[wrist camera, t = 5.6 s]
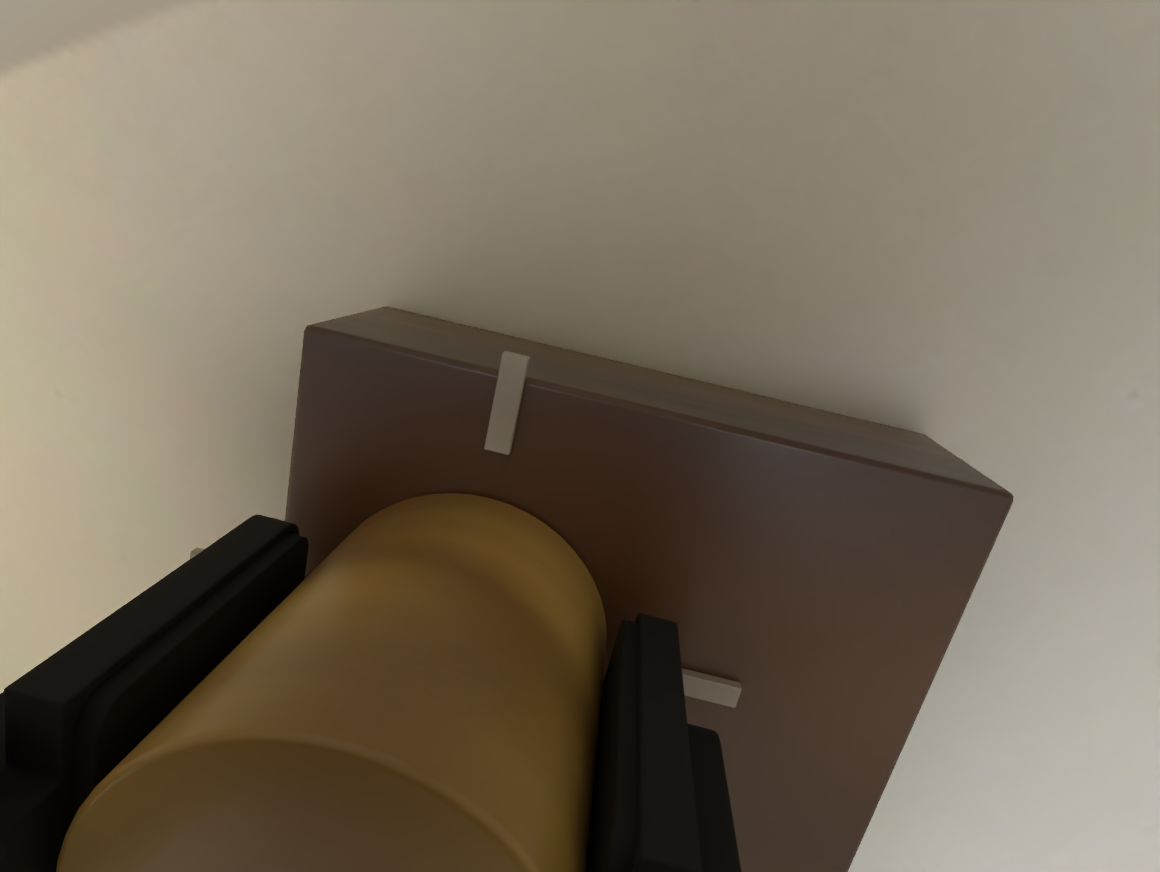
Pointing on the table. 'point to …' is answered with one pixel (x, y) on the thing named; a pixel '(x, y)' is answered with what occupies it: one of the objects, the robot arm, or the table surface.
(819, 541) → the panel
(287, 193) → the table surface
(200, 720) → the knob
